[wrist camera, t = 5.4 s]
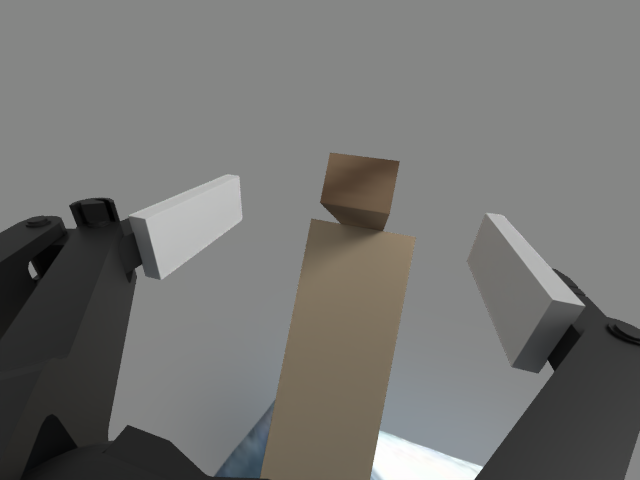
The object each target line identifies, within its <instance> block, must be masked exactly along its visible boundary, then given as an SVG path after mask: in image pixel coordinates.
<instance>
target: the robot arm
mask: <svg viewBox="0 0 640 480" xmlns="http://www.w3.org/2000/svg"><path fill="white" fill-rule="evenodd" d="M69 207H70V209H71V211H72V214H73V216H74V219H75V222H76V224H77V228H76V229H66V228H65V226H64V223H63V221H62V219H61V218H60V217H57V216H38V217H32V218H30V219H27V220H24V221H22V222H20V223H17V224H15V225H14V226H12V227H10V228H8V229H7V230H5V231H3V232H1V233H0V480H270V479H263V478H230V477H211V476H207V475H206V474H204V473H203V472H202V471H201V470H200V469H199V468H198V467H197V466H196V465H194V463H193V462H192V461H190V460H189V459H188V458H187V457H186V456H185V455H184V454H183V453H182V452H181V451H180V450H179V449H178V448H177V447H176V446H174V445H173V444H172V443H171V442H170V441H168V440H166V439H163V438H160V437H158V436H155V435H153V434H150V433H148V432H145V431H142V430H140V429H137V428H134V427H132V426H129V425H127V426H126V427H125V429H124V430H123V431H122V432H121V433H120V435H119V436H118V437H117V438H116V439H115V440H114V441H108V428H109V421H110V416H111V411H112V406H113V400H114V395H115V390H116V385H117V379H118V374H119V369H120V363H121V358H122V353H123V348H124V342H125V337H126V331H127V326H128V321H129V316H130V310H131V305H132V300H133V295H134V289H135V284H136V279H137V275H136V272H135V268H137V267H138V266H140V265H141V264H142V265H143V269H144V272H145V276H147V277H151V278H155V279H159V280H162V279H163V278H165V277H166V276H167V275H169V274H170V273H171V272H173V271H174V270H175V269H177V268H178V267H179V266H181V265H182V264H183V263H185V262H186V261H187V260H189V259H190V258H191V257H193V256H194V255H196V254H197V253H198V252H200V251H201V250H202V249H204V248H205V247H206V246H208V245H209V244H210V243H212V242H213V241H214V240H215V239H217V238H218V237H220V236H221V235H222V234H224V233H225V232H226V231H228V230H229V229H230V228H232V227H233V226H234V225H236V224H237V223H238V222H240V221H241V220H242V209H241V195H240V181H239V176H236V175H229V174H227V175H224V176H222V177H219V178H217V179H215V180H212V181H210V182H208V183H205V184H203V185H200V186H198V187H195V188H193V189H191V190H188V191H186V192H183V193H181V194H179V195H176V196H174V197H171V198H169V199H167V200H164V201H162V202H160V203H157V204H155V205H152V206H150V207H147V208H145V209H143V210H141V211H138V212H136V213H133V214H131V215H128V217H129V218H128V219H125V220H123V221H120V220H119V217H118V214H117V210H116V207H115V204H114V201H113V200H112V199H110V198H91V199H85V200H80V201H77V202H74V203H72V204H71V205H69ZM30 261H31V263H32V265H33V267H34V269H35V270H36V272H37V274H38V275H37V276H35V277H34V278H33V279H32V277H31V275H30V273H29V270H28V265H29V262H30ZM467 262H468V264H469V267H470V269H471V272H472V274H473V277H474V279H475V281H476V284H477V286H478V289H479V291H480V293H481V295H482V298H483V300H484V303H485V305H486V308H487V310H488V312H489V315H490V317H491V320H492V322H493V324H494V327H495V329H496V331H497V333H498V336H499V339H500V341H501V343H502V346H503V348H504V351H505V353H506V355H507V358H508V360H509V363H510V365H511V367H514V368H518V369H522V370H526V371H530V372H534V373H539V372H540V370H541V369H542V368H543V366H544V365H545V363H546V362H547V360H548V361H549V363H550V365H551V366H552V368H553V370H554V373H553V375H552V376H551V377H550V379H549V380H548V381H547V383H546V384H545V386H544V387H543V388H542V389H541V391H540V392H539V393H538V395H537V396H536V398H535V399H534V400H533V402H532V403H531V404H530V406H529V407H528V408H527V410H526V411H525V412H524V414H523V415H522V416H521V418H520V419H519V420H518V422H517V423H516V424H515V426H514V427H513V428H512V430H511V431H510V432H509V434H508V435H507V437H506V438H505V439H504V441H503V442H502V443H501V445H500V446H499V447H498V449H497V450H496V451H495V453H494V454H493V455H492V457H491V458H490V459H489V461H488V462H487V463H486V465H485V466H484V467H483V469H482V470H481V471H480V473H479V474H478V475H477V477H476V478H475V480H624V478H625V475H626V472H627V468H628V465H629V462H630V459H631V456H632V453H633V450H634V447H635V444H636V440H637V437H638V434H639V431H640V329H638V328H636V327H634V326H632V325H630V324H628V323H625V322H623V321H620V320H617V319H612V318H609V317H606V316H605V315H604V314H603V313H602V312H601V310H599V308H598V307H597V306H596V305H595V304H594V303H593V302H592V301H591V300H590V299H589V298H588V297H585V294H584V293H583V292H582V291H581V290H580V289H578V287H577V285H576V284H575V283H574V282H573V281H572V280H571V279H570V278H568V277H567V276H565V275H564V274H562V273H561V272H559V271H558V270H556V269H551V268H550V266H549V265H548V264H547V263H546V262H545V261H544V260H543V259H542V258H541V257H540V256H539V254H538V253H537V252H536V251H535V250H534V249H533V248H532V247H531V246H530V244H529V243H528V242H527V241H526V240H525V239H524V238H523V237H522V236H521V234H520V233H519V232H518V231H517V230H516V229H515V228H514V227H513V226H512V225H511V223H510V222H509V221H508V220H507V219H506V218H505V217H504V216H503V215H498V214H490V213H485V216H484V218H483V221H482V223H481V226H480V228H479V231H478V234H477V236H476V239H475V241H474V244H473V247H472V249H471V252H470V254H469V257H468V259H467Z"/></svg>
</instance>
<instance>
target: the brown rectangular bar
mask: <svg viewBox="0 0 640 480" xmlns="http://www.w3.org/2000/svg"><path fill="white" fill-rule="evenodd" d="M398 166H399V161H393V160H385V159H376V158H369V157H361V156H353V155H345V154H337V153H330V156H329V161H328V166H327V171H326V176H325V181H324V186H323V191H322V196H321V201H320V203H321V204H322V205H323V206H324V207H325V208H326V209H327V210H328V211H329V212H330V213H331V214H332V215H333V216H334V217H335V218H336V219H337V220H338V221H339V222H340V223H341V224H344V225H350V226H356V227H361V228H367V229H373V230H378V231H383V229H384V227H385V224H386V222H387V219H388V216H389V214H390V208H391V203H392V198H393V192H394V188H395V182H396V177H397V172H398Z"/></svg>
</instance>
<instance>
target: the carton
mask: <svg viewBox="0 0 640 480" xmlns="http://www.w3.org/2000/svg"><path fill="white" fill-rule="evenodd" d="M415 239H416V237H412V236H406V235H401V234H395V233H390V232H384V231H378V230H373V229H367V228H361V227H356V226H350V225H344V224H339V223H333V222H328V221H322V220H316V219H311V223H310V229H309V233H308V239H307V244H306V249H305V254H304V259H303V264H302V269H301V274H300V279H299V284H298V289H297V294H296V299H295V304H294V309H293V314H292V319H291V324H290V330H289V334H288V340H287V345H286V349H285V354H284V359H283V364H282V370H281V375H280V380H279V385H278V390H277V395H276V400H275V405H274V410H273V415H272V420H271V425H270V430H269V435H268V440H267V445H266V450H265V455H264V460H263V465H262V470H261V475H260V478H263V479H270V480H370V476H371V471H372V466H373V460H374V455H375V450H376V445H377V439H378V434H379V429H380V424H381V418H382V413H383V407H384V402H385V397H386V392H387V386H388V381H389V376H390V371H391V365H392V360H393V355H394V350H395V344H396V339H397V334H398V329H399V323H400V317H401V313H402V307H403V302H404V297H405V292H406V286H407V281H408V275H409V270H410V265H411V260H412V255H413V249H414V244H415Z"/></svg>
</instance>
